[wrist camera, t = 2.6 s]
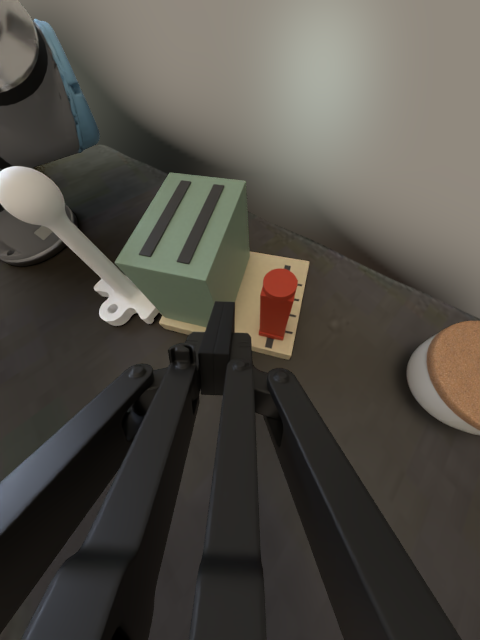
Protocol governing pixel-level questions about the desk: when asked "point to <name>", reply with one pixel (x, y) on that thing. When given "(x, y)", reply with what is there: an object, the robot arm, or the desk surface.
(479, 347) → the trinket box
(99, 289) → the joystick
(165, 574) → the desk surface
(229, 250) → the toaster
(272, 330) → the slider
